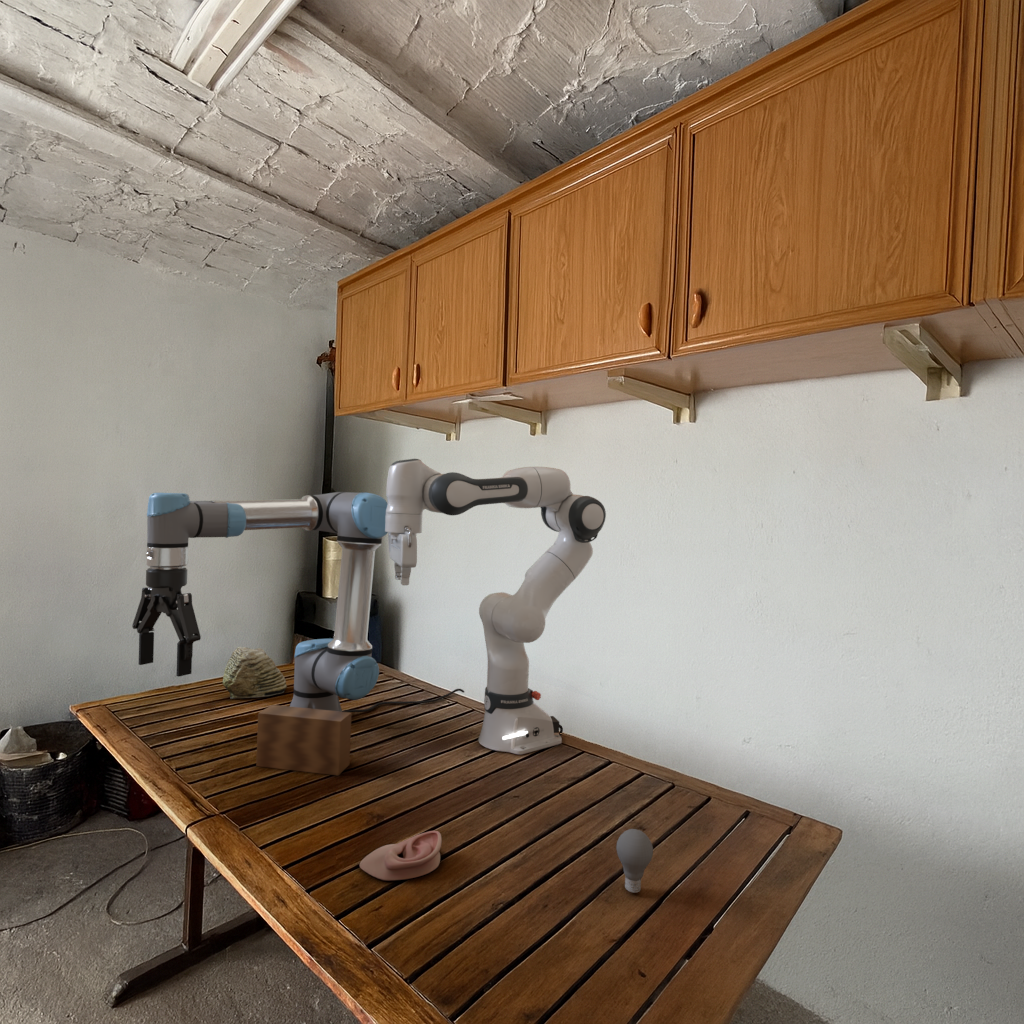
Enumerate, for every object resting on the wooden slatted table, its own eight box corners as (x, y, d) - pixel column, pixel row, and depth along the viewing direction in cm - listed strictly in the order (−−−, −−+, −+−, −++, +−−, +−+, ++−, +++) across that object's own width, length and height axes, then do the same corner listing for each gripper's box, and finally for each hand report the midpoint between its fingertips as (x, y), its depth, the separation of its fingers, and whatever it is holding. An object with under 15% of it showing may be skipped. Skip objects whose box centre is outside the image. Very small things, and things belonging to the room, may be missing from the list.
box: (256, 766, 147) (258, 713, 147) (270, 755, 153) (272, 704, 153) (338, 775, 144) (340, 721, 144) (349, 764, 150) (351, 712, 150)
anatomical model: (352, 851, 106) (379, 818, 118) (351, 875, 106) (379, 839, 118) (427, 864, 104) (448, 829, 115) (426, 888, 104) (447, 850, 115)
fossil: (218, 695, 195) (220, 647, 195) (278, 685, 208) (279, 640, 207) (228, 703, 189) (230, 653, 188) (289, 692, 201) (290, 645, 201)
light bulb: (610, 879, 108) (613, 822, 108) (644, 879, 109) (647, 822, 109) (619, 902, 102) (622, 840, 102) (655, 901, 103) (658, 840, 103)
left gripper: (115, 563, 134) (113, 662, 135) (185, 574, 121) (182, 684, 122) (150, 560, 140) (148, 655, 141) (221, 571, 128) (218, 675, 128)
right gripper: (424, 528, 145) (422, 588, 145) (409, 523, 164) (407, 576, 164) (396, 527, 143) (394, 588, 143) (385, 523, 162) (383, 576, 162)
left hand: (164, 669), depth 131 cm, fingers open, 13 cm apart
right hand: (401, 582), depth 154 cm, fingers open, 8 cm apart
